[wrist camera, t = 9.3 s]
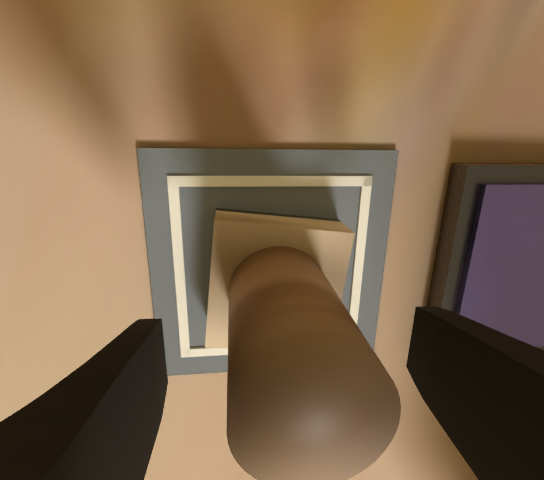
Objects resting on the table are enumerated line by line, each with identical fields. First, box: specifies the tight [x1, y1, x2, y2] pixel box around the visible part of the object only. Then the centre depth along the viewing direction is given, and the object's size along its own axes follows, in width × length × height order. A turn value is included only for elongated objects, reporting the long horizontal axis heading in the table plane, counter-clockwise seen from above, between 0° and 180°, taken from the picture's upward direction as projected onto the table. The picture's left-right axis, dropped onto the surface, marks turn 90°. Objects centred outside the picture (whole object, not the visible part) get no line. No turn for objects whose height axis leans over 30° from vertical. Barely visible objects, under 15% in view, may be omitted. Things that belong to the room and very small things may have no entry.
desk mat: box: [137, 148, 399, 376], centre depth 15 cm, size 10×10×1 cm
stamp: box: [205, 208, 401, 480], centre depth 11 cm, size 5×5×8 cm
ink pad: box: [427, 163, 544, 350], centre depth 15 cm, size 9×9×1 cm
